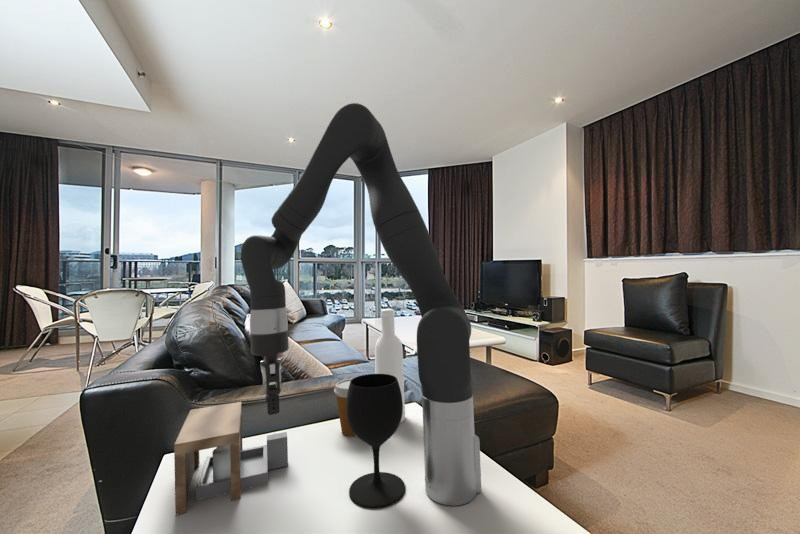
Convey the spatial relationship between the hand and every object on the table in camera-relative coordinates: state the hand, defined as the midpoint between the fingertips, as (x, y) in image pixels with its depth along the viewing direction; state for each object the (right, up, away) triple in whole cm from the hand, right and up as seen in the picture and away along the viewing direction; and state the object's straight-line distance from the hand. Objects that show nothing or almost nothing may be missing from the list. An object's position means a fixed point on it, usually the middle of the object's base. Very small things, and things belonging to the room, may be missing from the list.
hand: (272, 406), depth 73 cm
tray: (-4, -13, -2) cm, 14 cm away
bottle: (+25, -12, +22) cm, 35 cm away
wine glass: (+23, -12, -10) cm, 27 cm away
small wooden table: (-10, -13, -5) cm, 17 cm away
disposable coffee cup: (+15, -13, +15) cm, 25 cm away
